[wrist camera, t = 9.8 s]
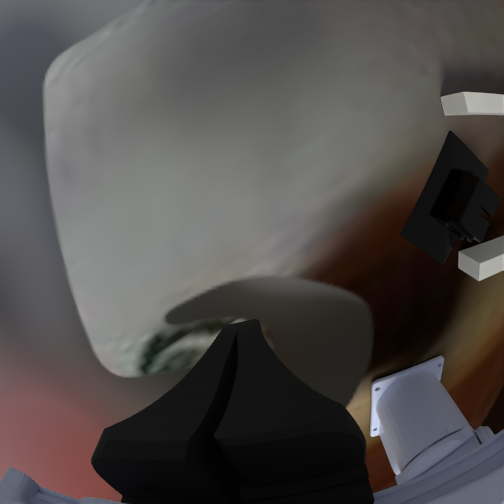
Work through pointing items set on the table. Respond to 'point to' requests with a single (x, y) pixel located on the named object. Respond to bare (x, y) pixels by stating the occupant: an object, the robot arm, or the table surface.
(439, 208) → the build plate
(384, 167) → the table surface
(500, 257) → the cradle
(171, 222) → the table surface
